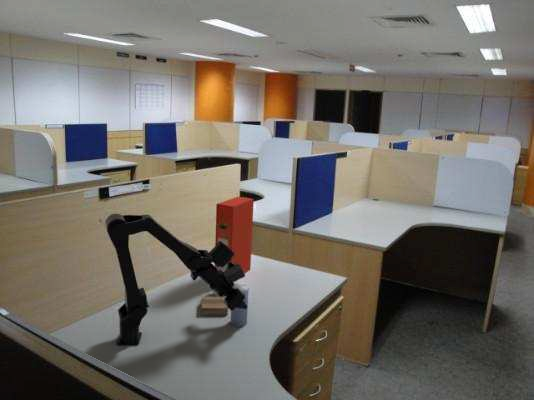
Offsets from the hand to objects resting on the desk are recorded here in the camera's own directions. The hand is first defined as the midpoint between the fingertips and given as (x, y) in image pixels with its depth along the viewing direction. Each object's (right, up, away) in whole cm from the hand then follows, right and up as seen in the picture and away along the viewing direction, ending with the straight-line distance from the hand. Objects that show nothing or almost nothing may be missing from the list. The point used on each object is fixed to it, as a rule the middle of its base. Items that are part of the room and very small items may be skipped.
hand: (243, 304), depth 149 cm
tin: (-2, -6, +1) cm, 7 cm away
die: (-9, -2, +21) cm, 23 cm away
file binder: (-7, +3, +42) cm, 42 cm away
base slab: (-11, -4, +10) cm, 15 cm away
